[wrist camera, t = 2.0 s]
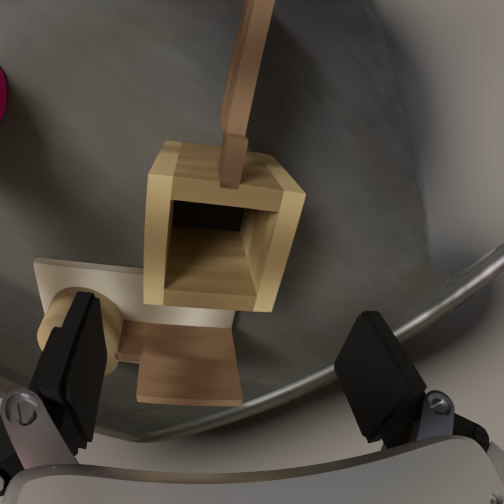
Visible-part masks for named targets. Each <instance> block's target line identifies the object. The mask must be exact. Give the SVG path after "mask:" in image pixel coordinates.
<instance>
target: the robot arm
mask: <svg viewBox="0 0 504 504" xmlns="http://www.w3.org/2000/svg"><path fill="white" fill-rule="evenodd" d="M106 364H107V348H106V342H105V335H104V328H103V321H102V313H101V305H100V299H99V298H96V297H95V295H94V293H91V292H83V291H77V293H76V295H75V297H74V299H73V301H72V304H71V306H70V308H69V310H68V313H67V315H66V317H65V319H64V322H63V324H62V326H61V327H56V326H55V327H54V328H53V329H52V331H51V333H50V335H49V337H48V340H47V342H46V344H45V347H44V349H43V352H42V354H41V357H40V359H39V362H38V364H37V367H36V370H35V372H34V375H33V378H32V380H31V383H30V386H29V389H28V390H27V389H17V390H13V391H12V392H10V393H8V394H7V395H6V396H5V397H4V398H3V400H2V403H1V407H0V496H3V495H4V497H3V501H2V504H504V451H503V450H502V449H500V448H499V447H498V446H497V445H496V444H494V443H493V442H492V441H491V443H489V436H488V434H487V432H486V430H485V429H484V428H483V427H481V426H480V425H478V424H476V423H474V422H472V421H470V420H468V419H466V418H464V417H462V416H460V415H457V414H456V413H454V404H453V402H452V401H451V399H450V397H448V396H447V395H446V394H445V393H443V392H441V391H438V390H432V391H429V392H428V393H427V394H425V392H424V391H425V389H426V388H427V386H426V384H425V383H424V381H423V379H422V378H421V376H420V375H419V373H418V371H417V370H416V368H415V367H414V365H413V363H412V362H411V360H410V359H409V357H408V355H407V354H406V352H405V351H404V349H403V348H402V346H401V345H400V343H399V342H398V340H397V338H396V337H395V335H394V334H393V332H392V331H391V329H390V328H389V326H388V325H387V323H386V322H385V320H384V319H383V317H382V316H381V315H380V313H379V312H377V311H364V312H362V314H361V315H359V316H358V317H357V319H356V321H355V323H354V325H353V327H352V329H351V331H350V333H349V335H348V337H347V339H346V341H345V343H344V345H343V347H342V349H341V351H340V353H339V355H338V357H337V359H336V360H335V363H334V369H335V372H336V374H337V376H338V379H339V381H340V383H341V386H342V388H343V390H344V393H345V395H346V397H347V399H348V402H349V404H350V407H351V409H352V411H353V414H354V416H355V418H356V421H357V423H358V426H359V428H360V431H361V433H362V435H363V436H364V437H366V438H367V441H368V443H372V442H376V441H379V440H380V439H382V440H383V442H384V443H383V445H382V449H381V451H378V452H374V453H370V454H366V455H362V456H357V457H353V458H348V459H343V460H338V461H333V462H328V463H322V464H316V465H310V466H303V467H296V468H288V469H280V470H269V471H257V472H241V473H171V472H155V471H140V470H131V469H122V468H113V467H104V466H95V465H83V464H79V463H78V461H77V460H76V458H75V457H74V456H75V455H77V454H78V448H82V449H86V446H87V442H92V440H93V434H94V427H95V421H96V415H97V409H98V404H99V398H100V393H101V388H102V383H103V378H104V373H105V369H106Z"/></svg>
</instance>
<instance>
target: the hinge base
mask: <svg viewBox="0 0 504 504" xmlns="http://www.w3.org/2000/svg"><path fill="white" fill-rule="evenodd" d="M33 265H34V270H35V275H36V279H37V284H38V288H39V293H40V297H41V301H42V305H43V309H44V312H45V316H44V318H43V321H42V323H41V325H40V327H39V330H38V334H37V338H38V343H39V346H40V348H41V350H42V351H43V349H44V347H45V344H46V342H47V340H48V337H49V335H50V333H51V331H52V329H53V328H54V327H55V326H56V327H61V326H62V324H63V322H64V319H65V317H66V315H67V313H68V310H69V308H70V306H71V304H72V301H73V299H74V297H75V295H76V293H77V291H83V292H91V293H94V295H95V297H96V298H99V299H100V305H101V313H102V321H103V328H104V335H105V342H106V348H107V364H106V369H105V373H104V376H106V375H108V374H110V373H111V372H113V371H114V370H115V368H116V367H117V365H118V361H120V362H129V363H139V374H138V384H137V395H136V396H137V402H146V403H158V404H172V405H193V406H241V405H242V402H243V396H242V390H241V384H240V378H239V372H238V366H237V360H236V354H235V348H234V342H233V335H232V329H231V328H232V323H233V319H234V314H235V310H218V309H203V308H189V307H176V306H164V305H153V304H144V288H143V281H144V268H134V267H124V266H114V265H104V264H95V263H85V262H76V261H67V260H58V259H50V258H41V257H37V258H36V259H35V261H34V262H33Z"/></svg>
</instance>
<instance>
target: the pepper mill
mask: <svg viewBox="0 0 504 504" xmlns="http://www.w3.org/2000/svg"><path fill="white" fill-rule="evenodd" d="M6 100H7V86H6V81H5V77H4V75H3V72H2V70H1V69H0V122H1V120H2V117H3V114H4V111H5V107H6Z"/></svg>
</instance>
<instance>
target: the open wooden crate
mask: <svg viewBox="0 0 504 504" xmlns="http://www.w3.org/2000/svg"><path fill="white" fill-rule="evenodd" d="M274 3H275V0H245V2H244V6H243V10H242V14H241V18H240V23H239V27H238V31H237V36H236V40H235V44H234V49H233V53H232V58H231V63H230V67H229V72H228V77H227V82H226V87H225V92H224V97H223V102H222V107H221V112H220V118H219V123H220V125H221V127H222V129H223V132H224V134H223V140H222V145H221V147H217V146H209V145H201V144H193V143H184V142H174V141H165V143H164V145H163V147H162V149H161V151H160V152H159V154H158V156H157V158H156V160H155V162H154V164H153V166H152V168H151V170H150V172H149V174H148V184H147V198H146V214H145V234H144V281H143V288H144V304H153V305H164V306H176V307H189V308H203V309H218V310H236V311H256V312H272V309H273V305H274V302H275V299H276V296H277V292H278V289H279V286H280V283H281V279H282V276H283V273H284V269H285V266H286V263H287V259H288V256H289V253H290V249H291V246H292V242H293V239H294V236H295V232H296V229H297V225H298V222H299V218H300V215H301V211H302V208H303V204H304V200H305V197H306V193H305V192H304V191H303V190H302V189H301V187H300V186H299V185H298V184H297V183H296V182H295V181H294V179H293V178H292V177H291V176H290V175H289V174H288V173H287V171H286V170H285V169H284V168H283V167H282V166H281V165H280V164H279V163H278V161H277V160H276V159H275V158H274V157H273V156H272V155H269V154H263V153H257V152H251V151H247V146H248V141H249V140H248V139H247V137H246V136H245V134H246V129H247V124H248V119H249V115H250V110H251V105H252V100H253V96H254V91H255V86H256V82H257V77H258V73H259V68H260V64H261V59H262V55H263V50H264V46H265V42H266V37H267V33H268V29H269V24H270V20H271V16H272V12H273V8H274ZM175 200H179V201H189V202H199V203H208V204H217V205H225V206H234V207H242V208H244V213H243V218H242V223H241V228H240V232H238V231H229V230H219V229H209V228H200V227H189V226H179V225H172V223H173V213H174V203H175Z"/></svg>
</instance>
